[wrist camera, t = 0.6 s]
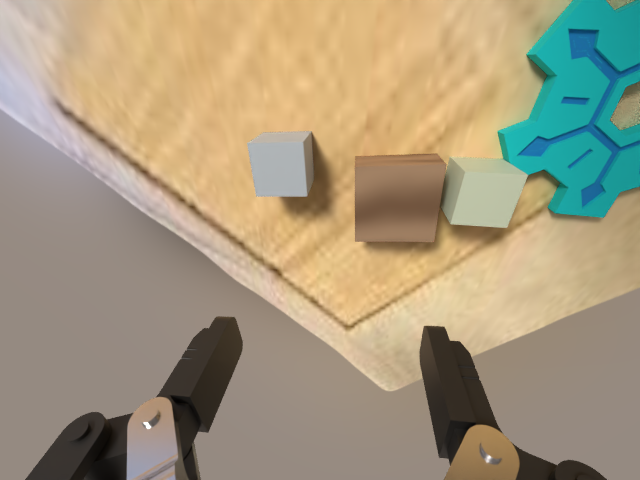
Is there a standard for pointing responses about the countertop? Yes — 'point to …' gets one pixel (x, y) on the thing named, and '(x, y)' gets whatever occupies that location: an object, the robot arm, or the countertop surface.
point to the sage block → (481, 191)
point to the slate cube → (282, 163)
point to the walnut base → (398, 197)
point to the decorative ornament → (582, 108)
